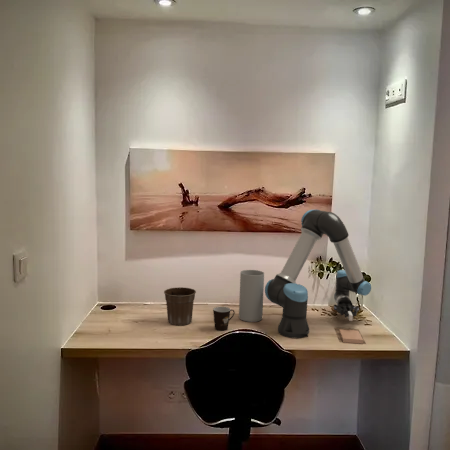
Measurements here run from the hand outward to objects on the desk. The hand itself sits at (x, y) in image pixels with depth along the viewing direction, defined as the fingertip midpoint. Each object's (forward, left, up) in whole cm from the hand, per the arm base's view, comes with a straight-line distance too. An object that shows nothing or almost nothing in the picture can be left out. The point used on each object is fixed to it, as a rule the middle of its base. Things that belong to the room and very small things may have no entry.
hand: (351, 318), depth 219 cm
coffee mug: (-57, +22, -9) cm, 62 cm away
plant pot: (-77, +36, -9) cm, 86 cm away
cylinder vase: (-39, +34, -9) cm, 53 cm away
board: (-1, -2, -9) cm, 9 cm away
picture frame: (0, +1, -7) cm, 7 cm away
